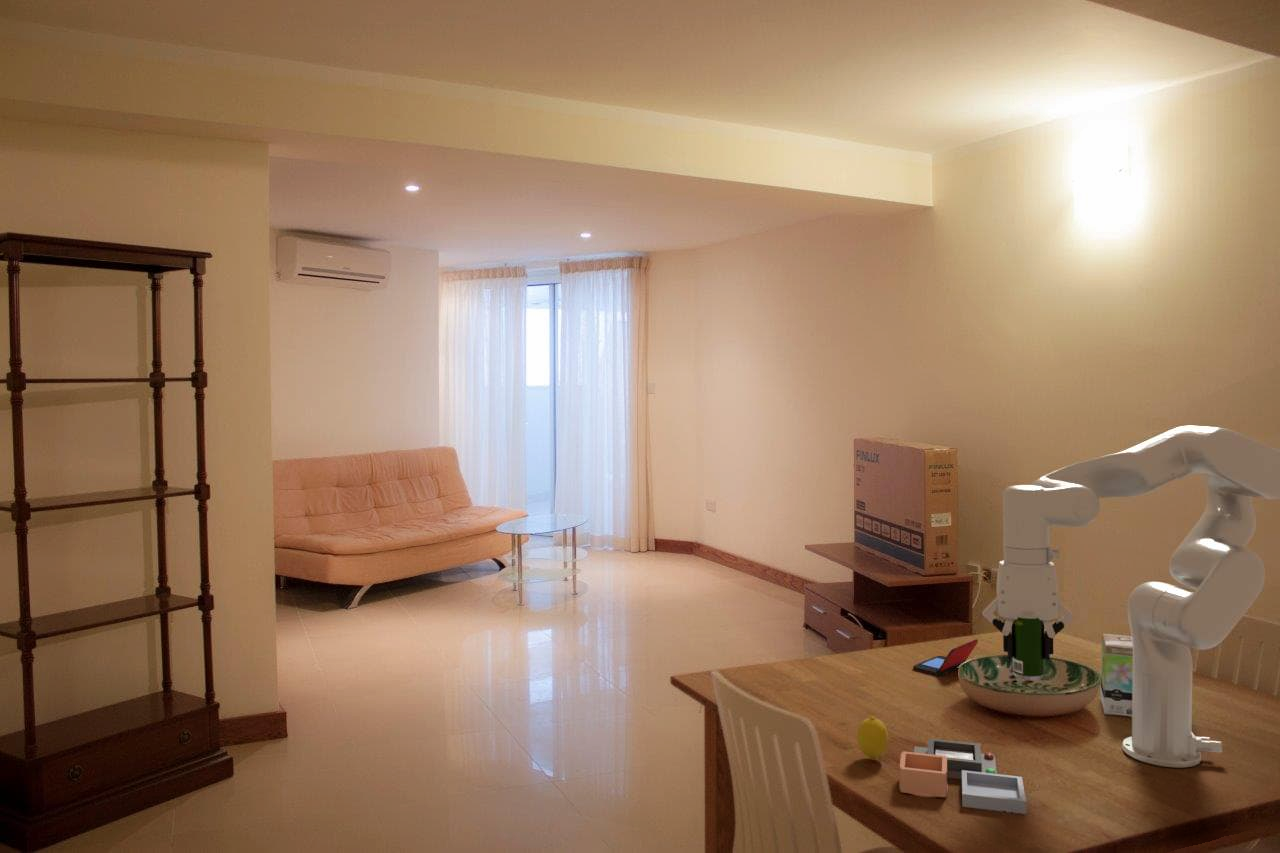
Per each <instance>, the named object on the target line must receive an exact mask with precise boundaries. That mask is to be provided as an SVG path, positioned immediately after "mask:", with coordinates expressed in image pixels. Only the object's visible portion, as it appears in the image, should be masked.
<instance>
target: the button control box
mask: <svg viewBox="0 0 1280 853" xmlns="http://www.w3.org/2000/svg"><path fill="white" fill-rule="evenodd" d="M936 748H941V749H951V750H960V751H970V752H973V760H968V759H958V758H949V757H946V758H947V779H957V780H962V770H965V771H974V772H983V773H992V774H998V772H997V764H996V756H995V754H994V753H993V752H984V753H982V749H981V748H982V747H981V743H980V742H979V743H978V742H977V743H975V742H969V741H959V740H958V741H956V740H950V739H949V740H948V739H947V740H946V739H940V738H939V739H937V738H928V739H927V747H925V746H914V749H913V752H914V753H923V754H933V755H935V752H936Z"/></svg>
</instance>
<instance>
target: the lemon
mask: <svg viewBox="0 0 1280 853" xmlns="http://www.w3.org/2000/svg"><path fill="white" fill-rule="evenodd" d="M856 738H857V745H858V747H859V750H860V752H862V753H863V755H865V756H867V757H868V758H870V760H872V761H874V760H875V759H877V758H880V757H881V756H883V755H884V754H885V753H886V751H887V750H888V747H889V733H888V730H887V727H886V725H885V724H884V723H883V721H881V720H880V719H878V718H876V717H875V716H870V717H868V718H866V719H863V721H861V723H860V724H859V726H858V729H857V736H856Z"/></svg>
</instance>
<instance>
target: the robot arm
mask: <svg viewBox="0 0 1280 853" xmlns="http://www.w3.org/2000/svg"><path fill="white" fill-rule="evenodd" d="M1192 474H1202V478H1203V481H1204V485H1205V490H1206V499H1207V500H1206V506H1205V509H1204V511H1203V513H1202V515H1201V516H1200V518H1199V519H1198V521H1196V523H1195V525H1194V526H1193V528H1192V529H1191V530H1189V533H1187V535H1186V537H1185V538H1184V539H1183V540H1182V541H1181V542H1180V544H1179V546H1177V548H1176V549H1175V550H1174V552H1173V553H1172V555H1171V557H1170V558H1169V563H1168V570H1169V571H1168V572H1169V574H1170V575H1171V577H1172V578H1173V579H1174V581H1175V580H1176V582H1178V583H1179V584H1181V585H1183V586H1185V587H1188V588H1190V589H1193V590H1195V591H1193V590H1189V589H1187V588H1184V587H1182V586H1177V585H1174V584H1171V583H1167V582H1162V581H1147V582H1143V583H1141V584H1139V585H1138V586H1136V587H1135V588H1134V589H1133V590H1132V591H1131V593H1130V594H1129V597H1128V601H1127V605H1126V606H1127V607H1126V608H1127V609H1126V610H1127V612H1126V613H1127V618H1128V624H1129V628H1130V636H1132V645H1133V676H1132V717H1131V736H1129V737H1126V738H1124V739H1123V740H1122V744H1121V747H1122V750H1123V751H1124V753H1125V754H1127V755H1128V756H1129V757H1131V758H1133V759H1135V760H1138V761H1139V762H1142V763H1146V764H1150V765H1154V766H1157V767H1166V768H1176V769H1178V768H1181V769H1183V768H1191V767H1194V766H1197V765H1198V764H1200V763H1201V761H1202V754H1201V753H1202V752H1203V751H1207V752H1210V753H1219V754H1220V753H1223V743H1222V741H1217V740H1211V737H1208V736H1196V735H1195V734H1194V732H1193V731H1192V726H1193V725H1192V723H1193V722H1192V716H1193V710H1192V709H1193V706H1192V705H1193V658H1192V653H1191V649H1190V648H1192V649H1194V650H1209V649H1212V648H1215V647H1216V646H1218V645H1219V644H1220V643H1222V642H1223V641H1224V640H1225V639H1226V637H1228V635H1229V634H1230V633H1231V632H1232V630H1234V628H1235V627H1236V625H1237V624H1238V623H1239V621H1240V620H1241V619H1242V618H1243V616H1244V615H1245V614H1246V613H1247V611H1248V610H1249V609H1250V607H1251V606H1252V605H1253V603H1254V602H1255V601H1256V599H1257V598H1258V596H1259V595H1260V593H1261V591H1262V589H1263V588H1264V585H1265V584H1264V583H1265V580H1266V569H1265V564H1264V562H1263V560H1262V559H1261V557H1260V556H1259V555H1258V554H1257V553H1256V552H1255V551H1254V550H1252V549H1250V548H1248V547H1246V546H1247V545H1248V544H1249V542H1250V540H1251V539H1252V538H1253V537H1254V536H1253V535H1254V533H1255V531H1256V528H1257V517H1256V513H1255V511H1256V510H1255V507H1254V504H1253V499H1252V498H1258V499H1267V500H1280V449H1278V448H1275V447H1273V446H1270V445H1269V444H1266V443H1263V442H1261V441H1258V440H1257V439H1254V438H1252V437H1249V436H1247V435H1245V434H1243V433H1240V432H1237V431H1235V430H1231V429H1230V428H1225V427H1218V426H1203V425H1181V426H1177V427H1174V428H1172V429H1169V430H1168V431H1165V432H1164V433H1163V432H1162V433H1161V434H1159V435H1156V436H1153V437H1151V438H1149V439H1148V440H1145V441H1143V442H1140V443H1138V444H1136V445H1134V446H1131V447H1129V448H1126V449H1125V450H1122V451H1119V452H1115V453H1111V454H1106V455H1103V456H1099V457H1096V458H1092V459H1088V460H1084V461H1080V462H1075V463H1073V464H1069V465H1067V466H1064V467H1062V468H1058V469H1057V470H1053V471H1052V472H1050V473H1047V474H1045V475H1043V476H1040V477H1039V478H1037V479H1035V480H1034V481H1032V482H1031V483H1030V484H1018V485H1017V484H1016V485H1010V486H1007V487H1005V489H1004V491H1003V494H1002V512H1003V513H1002V517H1003V518H1002V522H1003V528H1002V530H1003V560H1000V561H999V563H998V568H997V572H996V573H997V575H996V589H995V590H996V591H995V592H996V595H995V598H994V599H993V600H992V601H991V602H990V603H989V604H988V605H987V606H986V607H985V608H984V610H983V611H982V616H983V618H985V620H986V619H987V621H989V622H990V623H991V624H992V625H993V627H995V628H996V629H997V630H998V631H999V632H1000V633H1001V634H1002V636H1003V637H1002V639H1003V640H1002V643H1003V644H1002V645H1003V652H1004V653H1007V658H1008V659H1012V658H1013V646H1012V633H1011V627H1012V624H1013V621H1014V620H1017V619H1018V616H1020V615H1022V614H1023V613H1022V612H1035V615H1036V616H1038V617H1039V620H1040V621H1043V623H1044V652H1045V661H1050V658H1051V656H1050V655H1054V638H1055V637H1056V635H1057V634H1059V633H1060V632H1061V631H1062V630H1063V629H1065V627H1066V626H1068V625H1069V624H1070V623H1072V622H1073V621H1075V616H1074V615H1073V614H1072V612H1071V611H1070V610H1069V608H1067V606H1065V605H1064V603H1062V602H1061V600H1060V598H1059V596H1060V594H1059V585H1058V579H1057V570H1056V566H1055V563H1054V562H1051V560H1053V559H1055V558H1060V550H1059V549H1055V548H1052V547H1051V539H1050V538H1051V536H1050V535H1051V534H1050V533H1051V531H1050V527H1052V526H1054V527H1055V526H1057V527H1058V526H1059V527H1066V528H1068V527H1069V528H1070V527H1071V528H1079V527H1084V526H1087V525H1090V524H1091V523H1093V522H1094V521H1095V520H1096V519H1097V517H1098V515H1099V514H1100V512H1101V511H1100V510H1101V502H1100V499H1106V498H1109V499H1110V498H1111V499H1112V498H1131V497H1137V496H1138V497H1140V496H1145V495H1147V494H1151V493H1152V492H1154V491H1156V490H1158V489H1160V488H1162V487H1164V486H1167V485H1169V484H1171V483H1173V482H1176V481H1177V480H1178V481H1179V480H1181V479H1182V478H1185V477H1188V476H1189V475H1192ZM994 612H997V614H998V616H999V618H998V617H997V616H995V614H994ZM1060 614H1061V615H1062V617H1061V618H1060V619H1059V617H1060ZM1000 618H1001V619H1003V621H1002V620H1001V619H1000ZM1052 622H1054V623H1053V624H1052Z"/></svg>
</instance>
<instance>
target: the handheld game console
mask: <svg viewBox="0 0 1280 853" xmlns="http://www.w3.org/2000/svg"><path fill="white" fill-rule="evenodd" d="M978 641H979V639H974V640H971V641H969V642H966V643H964V644H962V645H960V646H959V645H958V646H956V647H954V648H952V649H951V650H950V651H949V652H948V654H947V655H946V656H944V655H937V656H934V657H931V658H928V659H926V660H924V661H920V662H919V663H917V664H915V665H913V666H912V668H913V670H914V671H916V672H920V673H924V674H927V675H930V676H936V677H939V678H940V677H942V676H943V675H946V674H949V673H950V672H951V671H954V670H955V671H956V670H957V669H956V668H957V667H958V666H959V665H960V664H961V663H963V662H965V661H966V662H967V660H968V658H969V657H970V655H971V653H972V652H973V650H974V649H975V647H976V646H977V644H978Z"/></svg>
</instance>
